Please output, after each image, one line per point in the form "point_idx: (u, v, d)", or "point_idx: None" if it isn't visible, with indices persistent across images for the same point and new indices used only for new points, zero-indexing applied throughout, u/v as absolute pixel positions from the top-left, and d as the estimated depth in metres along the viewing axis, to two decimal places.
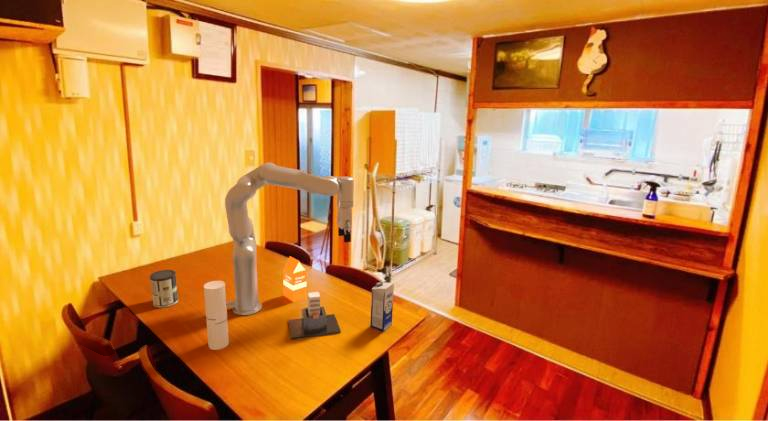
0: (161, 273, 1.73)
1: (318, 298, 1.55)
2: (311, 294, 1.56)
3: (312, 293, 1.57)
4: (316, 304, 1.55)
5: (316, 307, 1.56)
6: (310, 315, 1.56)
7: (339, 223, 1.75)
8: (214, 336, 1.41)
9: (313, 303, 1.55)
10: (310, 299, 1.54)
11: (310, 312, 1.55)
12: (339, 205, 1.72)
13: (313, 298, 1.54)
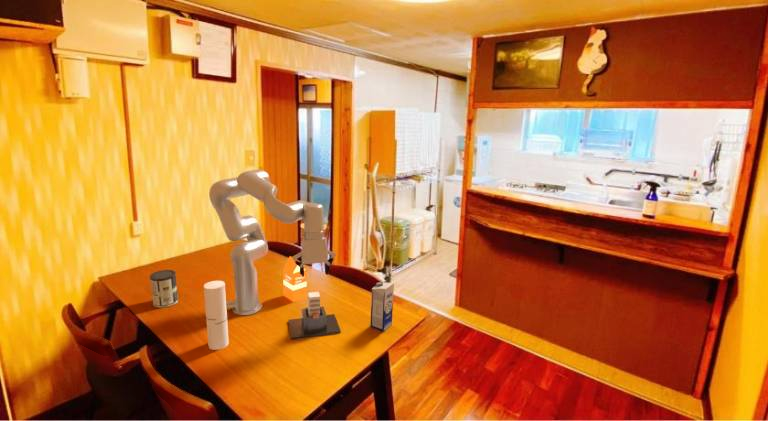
0: (161, 273, 1.73)
1: (318, 298, 1.55)
2: (311, 294, 1.56)
3: (312, 293, 1.57)
4: (316, 304, 1.55)
5: (316, 307, 1.56)
6: (310, 315, 1.56)
7: (318, 258, 1.50)
8: (214, 336, 1.41)
9: (313, 303, 1.55)
10: (310, 299, 1.54)
11: (310, 312, 1.55)
12: (320, 237, 1.48)
13: (313, 298, 1.54)
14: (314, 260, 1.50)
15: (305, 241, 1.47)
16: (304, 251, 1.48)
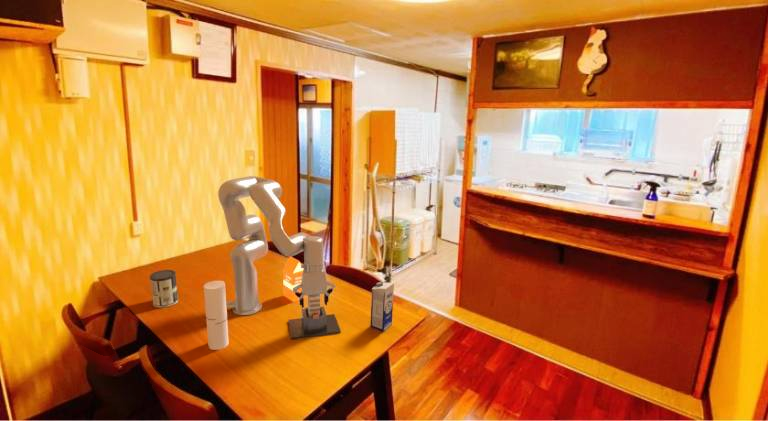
0: (161, 273, 1.73)
1: (318, 298, 1.55)
2: None
3: None
4: (316, 304, 1.55)
5: (316, 307, 1.56)
6: (310, 315, 1.56)
7: (317, 290, 1.53)
8: (214, 336, 1.41)
9: (313, 303, 1.55)
10: (310, 299, 1.54)
11: (310, 312, 1.55)
12: (319, 270, 1.51)
13: (313, 298, 1.54)
14: (314, 292, 1.53)
15: (305, 274, 1.50)
16: (304, 283, 1.51)
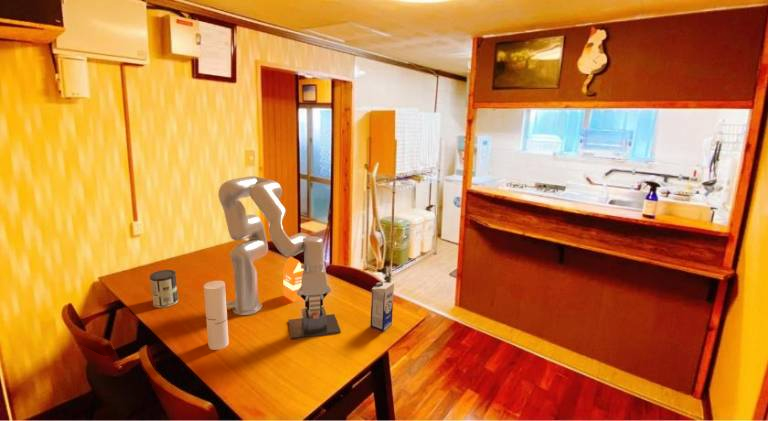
0: (161, 273, 1.73)
1: (318, 298, 1.55)
2: None
3: None
4: (316, 304, 1.55)
5: (316, 307, 1.56)
6: (310, 315, 1.56)
7: (317, 290, 1.53)
8: (214, 336, 1.41)
9: (313, 303, 1.55)
10: (310, 299, 1.54)
11: (310, 312, 1.55)
12: (319, 270, 1.51)
13: (313, 298, 1.54)
14: (313, 292, 1.53)
15: (305, 274, 1.51)
16: (304, 284, 1.51)
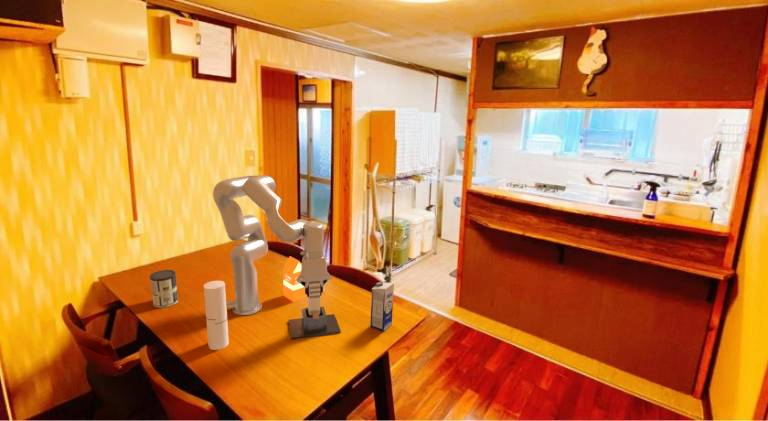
0: (161, 273, 1.73)
1: (318, 285, 1.54)
2: None
3: None
4: (316, 291, 1.54)
5: (316, 294, 1.54)
6: (310, 302, 1.54)
7: (317, 277, 1.52)
8: (214, 336, 1.41)
9: (313, 290, 1.53)
10: (310, 286, 1.53)
11: (310, 299, 1.54)
12: (319, 256, 1.50)
13: (313, 285, 1.53)
14: (313, 279, 1.52)
15: (305, 260, 1.49)
16: (304, 270, 1.50)
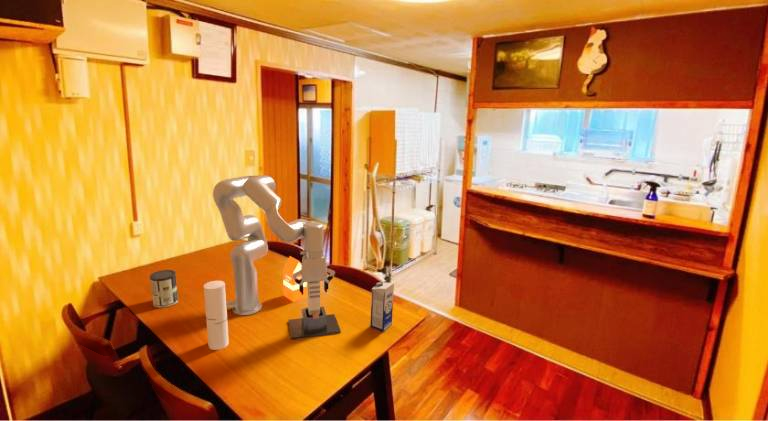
0: (161, 273, 1.73)
1: (318, 285, 1.54)
2: None
3: None
4: (316, 291, 1.54)
5: (316, 294, 1.54)
6: (310, 302, 1.54)
7: (317, 276, 1.52)
8: (214, 336, 1.41)
9: (313, 290, 1.53)
10: (310, 286, 1.52)
11: (310, 299, 1.54)
12: (319, 256, 1.50)
13: (313, 285, 1.53)
14: (313, 278, 1.52)
15: (305, 260, 1.49)
16: (304, 270, 1.50)
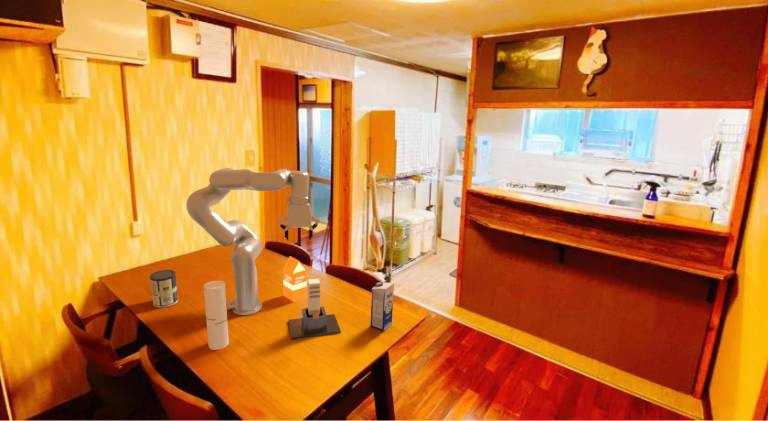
0: (161, 273, 1.73)
1: (318, 285, 1.54)
2: (311, 281, 1.55)
3: (312, 280, 1.56)
4: (316, 291, 1.54)
5: (316, 294, 1.54)
6: (310, 302, 1.54)
7: (301, 223, 1.59)
8: (214, 336, 1.41)
9: (313, 290, 1.53)
10: (310, 286, 1.52)
11: (310, 299, 1.54)
12: (304, 203, 1.57)
13: (313, 285, 1.53)
14: (298, 224, 1.59)
15: (290, 206, 1.57)
16: (289, 215, 1.57)
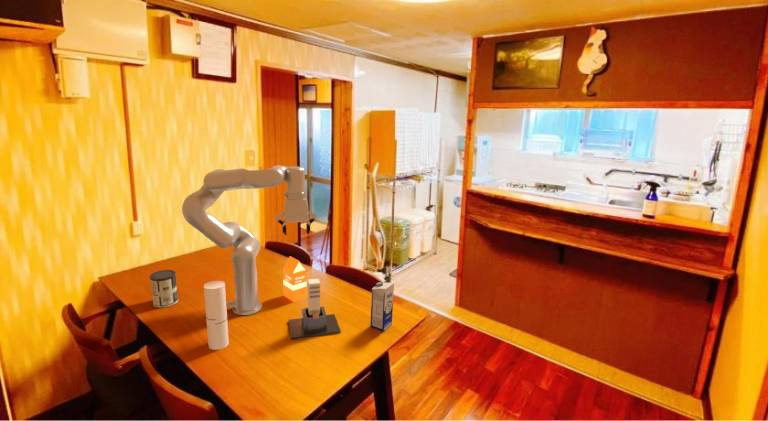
0: (161, 273, 1.73)
1: (318, 285, 1.54)
2: (311, 281, 1.55)
3: (312, 280, 1.56)
4: (316, 291, 1.54)
5: (316, 294, 1.54)
6: (310, 302, 1.54)
7: (299, 217, 1.62)
8: (214, 336, 1.41)
9: (313, 290, 1.53)
10: (310, 286, 1.52)
11: (310, 299, 1.54)
12: (301, 197, 1.60)
13: (313, 285, 1.53)
14: (296, 219, 1.62)
15: (287, 201, 1.59)
16: (286, 210, 1.60)
